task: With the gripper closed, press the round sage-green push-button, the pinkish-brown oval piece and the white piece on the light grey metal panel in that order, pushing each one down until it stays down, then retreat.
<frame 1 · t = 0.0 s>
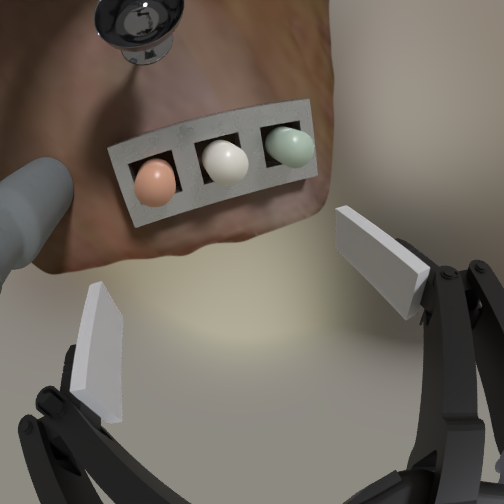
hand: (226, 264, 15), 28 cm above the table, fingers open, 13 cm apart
panel: (216, 154, 39), on the table
water bottle: (46, 187, 33), on the table
wine glass: (146, 41, 28), on the table
white piece: (223, 161, 35), point 5 cm above the table, slide at 0.0 cm
pinkish-brown oval piece: (155, 181, 33), point 5 cm above the table, slide at 0.0 cm
sage button: (288, 146, 36), point 5 cm above the table, slide at 0.0 cm
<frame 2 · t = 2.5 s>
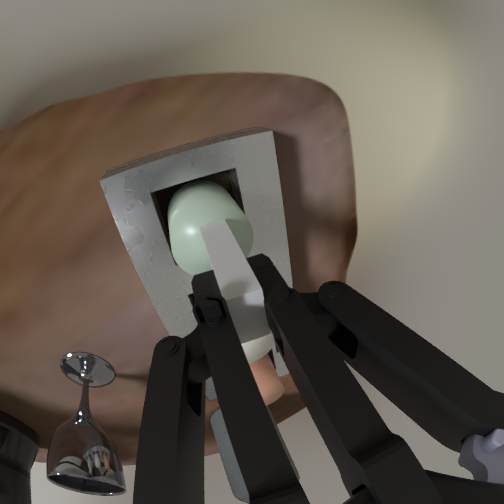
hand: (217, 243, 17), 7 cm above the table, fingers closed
panel: (222, 289, 27), on the table
water bottle: (237, 411, 41), on the table
wine glass: (87, 369, 28), on the table
white piece: (236, 324, 23), point 5 cm above the table, slide at 0.0 cm
pinkish-brown oval piece: (253, 378, 28), point 5 cm above the table, slide at 0.0 cm
sage button: (206, 226, 19), point 4 cm above the table, slide at 0.8 cm, touching gripper
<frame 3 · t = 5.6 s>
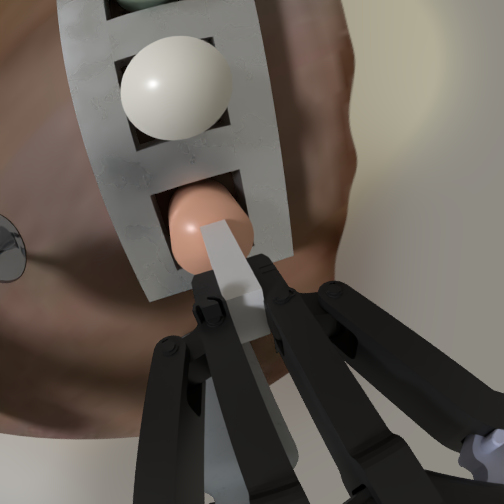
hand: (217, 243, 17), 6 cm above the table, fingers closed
panel: (171, 92, 17), on the table
water bottle: (207, 354, 30), on the table
white piece: (174, 89, 13), point 5 cm above the table, slide at 0.0 cm
pinkish-brown oval piece: (206, 224, 19), point 3 cm above the table, slide at 1.6 cm, touching gripper
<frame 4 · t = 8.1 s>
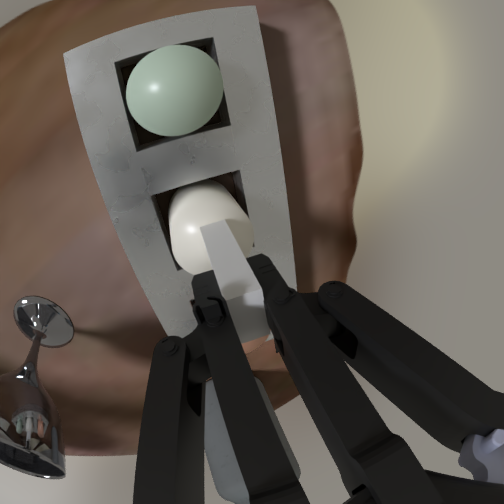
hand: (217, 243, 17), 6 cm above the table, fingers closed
panel: (199, 207, 22), on the table
water bottle: (226, 391, 35), on the table
wine glass: (42, 322, 22), on the table
white piece: (206, 225, 19), point 3 cm above the table, slide at 1.6 cm, touching gripper
pinkish-brown oval piece: (233, 315, 24), point 3 cm above the table, slide at 2.0 cm
sage button: (172, 91, 14), point 3 cm above the table, slide at 2.0 cm
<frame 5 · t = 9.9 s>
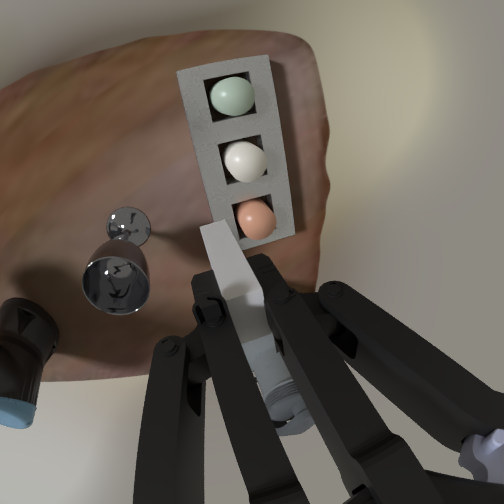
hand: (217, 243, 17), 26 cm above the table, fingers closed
panel: (238, 155, 40), on the table
water bottle: (245, 295, 54), on the table
wine glass: (128, 228, 41), on the table
white piece: (243, 159, 37), point 3 cm above the table, slide at 2.0 cm
pinkish-brown oval piece: (254, 217, 42), point 3 cm above the table, slide at 2.0 cm
sage button: (230, 96, 32), point 3 cm above the table, slide at 2.0 cm
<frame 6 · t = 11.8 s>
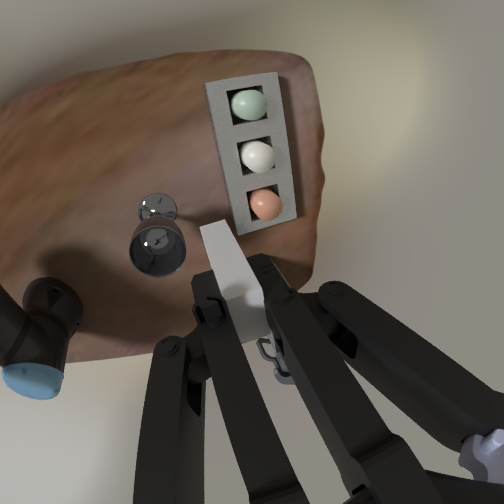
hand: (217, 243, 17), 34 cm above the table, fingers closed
panel: (251, 152, 49), on the table
water bottle: (253, 272, 63), on the table
wine glass: (157, 211, 49), on the table
white piece: (256, 155, 46), point 3 cm above the table, slide at 2.0 cm
pinkish-brown oval piece: (264, 202, 51), point 3 cm above the table, slide at 2.0 cm
sage button: (247, 104, 41), point 3 cm above the table, slide at 2.0 cm
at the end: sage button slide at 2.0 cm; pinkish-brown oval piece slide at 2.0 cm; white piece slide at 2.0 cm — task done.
